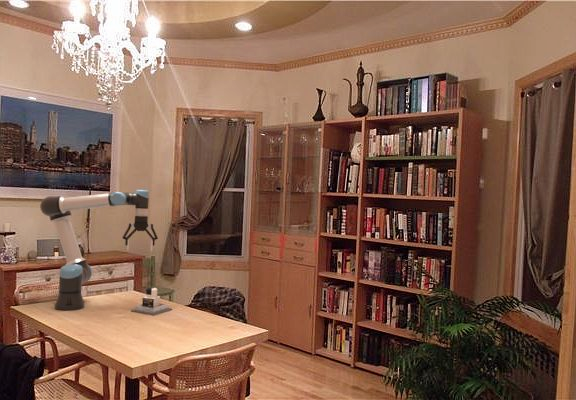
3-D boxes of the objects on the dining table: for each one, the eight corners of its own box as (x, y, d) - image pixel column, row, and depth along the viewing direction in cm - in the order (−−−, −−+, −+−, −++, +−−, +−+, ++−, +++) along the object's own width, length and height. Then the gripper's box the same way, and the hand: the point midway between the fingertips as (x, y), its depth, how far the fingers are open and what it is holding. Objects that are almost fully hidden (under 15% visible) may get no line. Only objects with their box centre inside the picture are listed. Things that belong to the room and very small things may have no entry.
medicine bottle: (141, 309, 263) (142, 288, 263) (148, 307, 270) (149, 286, 270) (153, 311, 261) (154, 289, 262) (159, 308, 268) (160, 287, 268)
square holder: (130, 311, 262) (131, 305, 262) (149, 306, 276) (149, 300, 276) (154, 315, 255) (154, 309, 255) (172, 309, 270) (172, 304, 270)
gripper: (119, 215, 273) (117, 251, 273) (163, 216, 283) (161, 251, 283) (119, 214, 280) (117, 250, 280) (161, 216, 290) (160, 250, 289)
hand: (139, 251), depth 281 cm, fingers open, 13 cm apart
